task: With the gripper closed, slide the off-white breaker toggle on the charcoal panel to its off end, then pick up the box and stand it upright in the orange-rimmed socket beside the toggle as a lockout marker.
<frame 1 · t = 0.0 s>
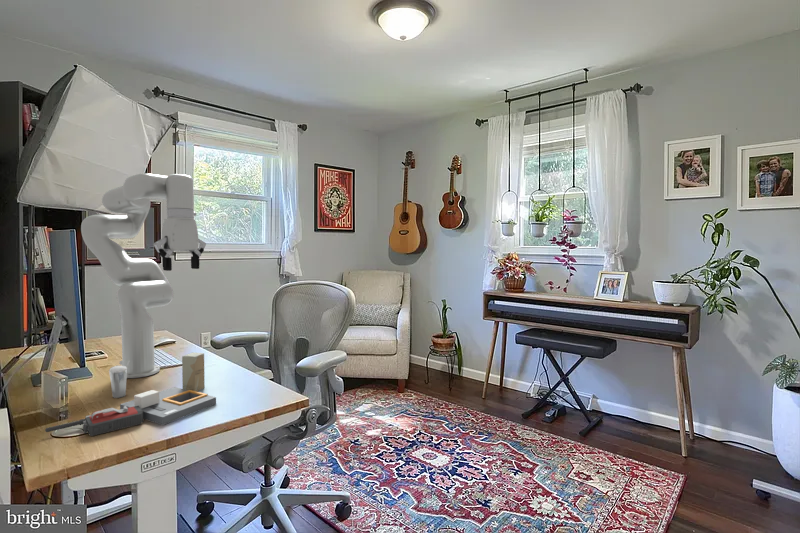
hand: (181, 269, 140), 37 cm above the table, tool pointing down, fingers open, 9 cm apart
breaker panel: (169, 407, 122), on the table
milkshake: (120, 396, 131), on the table
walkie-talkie: (98, 429, 109), on the table, touching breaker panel, breaker toggle
box: (193, 390, 137), on the table
breaker toggle: (146, 399, 118), point 4 cm above the table, slide at 0.0 cm, touching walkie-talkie
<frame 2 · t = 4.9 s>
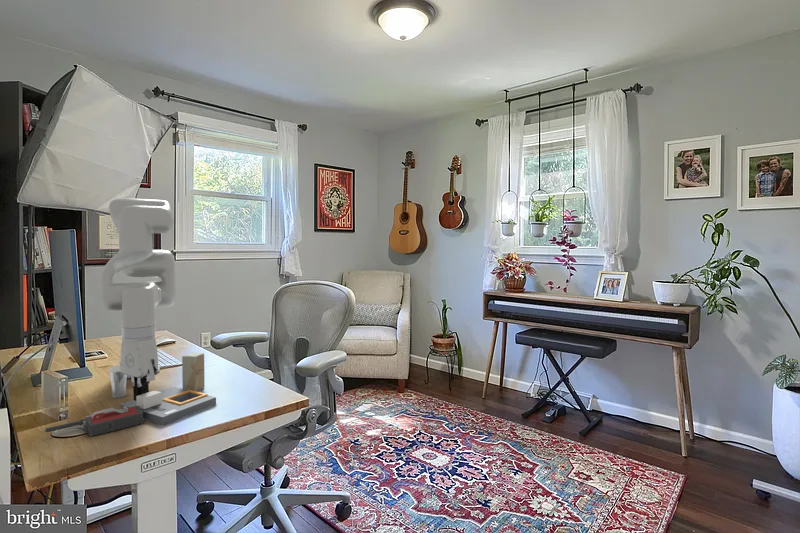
hand: (141, 399, 120), 3 cm above the table, tool pointing down, fingers closed
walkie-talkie: (98, 429, 108), on the table, touching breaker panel
breaker toggle: (149, 399, 118), point 4 cm above the table, slide at 1.0 cm, touching gripper
everything else where it was.
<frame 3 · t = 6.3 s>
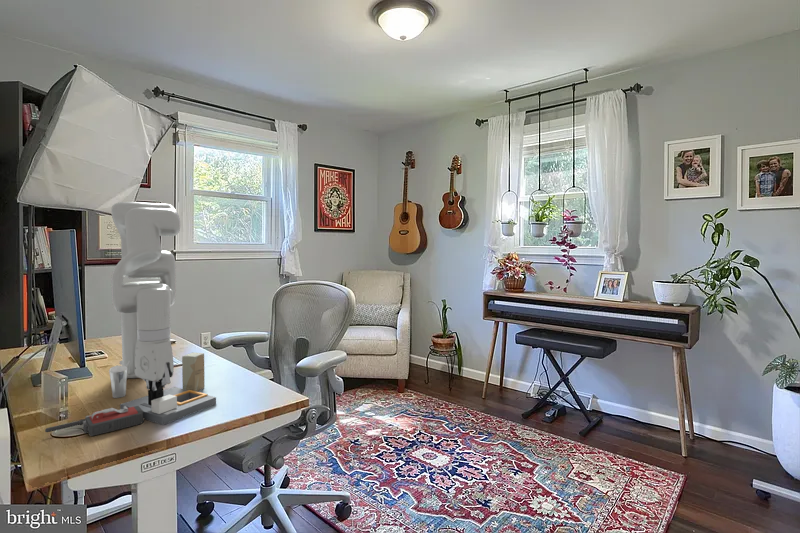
hand: (156, 403, 117), 3 cm above the table, tool pointing down, fingers closed
breaker toggle: (164, 404, 115), point 4 cm above the table, slide at 7.4 cm, touching gripper
everything else where it was.
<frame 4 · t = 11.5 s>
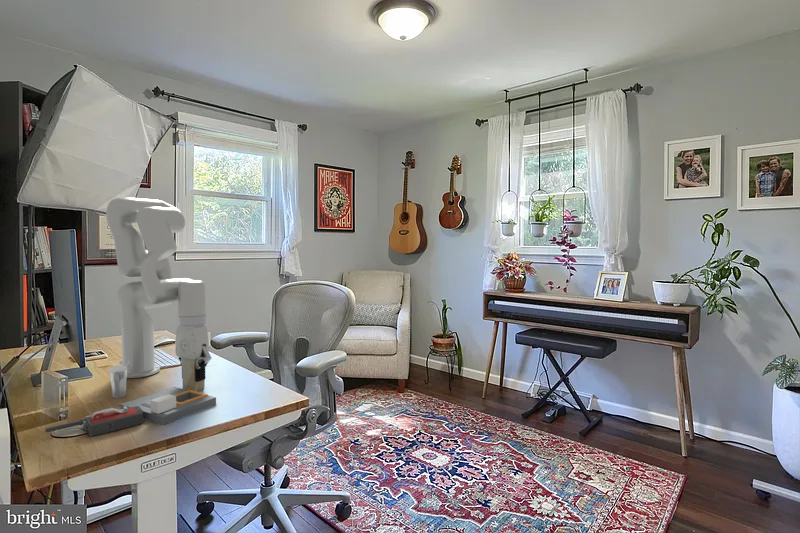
hand: (193, 378, 137), 3 cm above the table, tool pointing down, fingers closed on box, 5 cm apart
box: (193, 390, 137), on the table, touching gripper
breaker toggle: (163, 403, 115), point 4 cm above the table, slide at 7.1 cm
everything else where it was.
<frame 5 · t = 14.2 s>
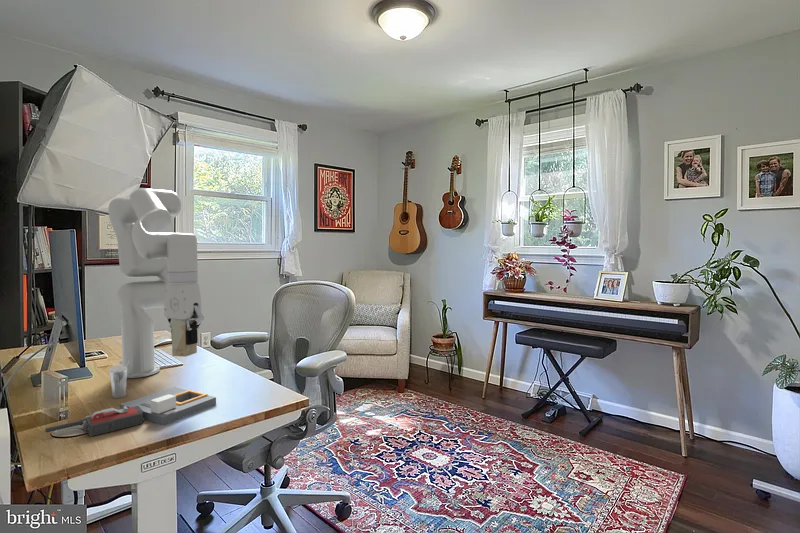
hand: (184, 342, 124), 18 cm above the table, tool pointing down, fingers closed on box, 5 cm apart
box: (184, 355, 124), point 14 cm above the table, touching gripper
everything else where it was.
when the fingers open (5 cm above the table, at t = 17.0 s): box drops 1 cm, resting in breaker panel.
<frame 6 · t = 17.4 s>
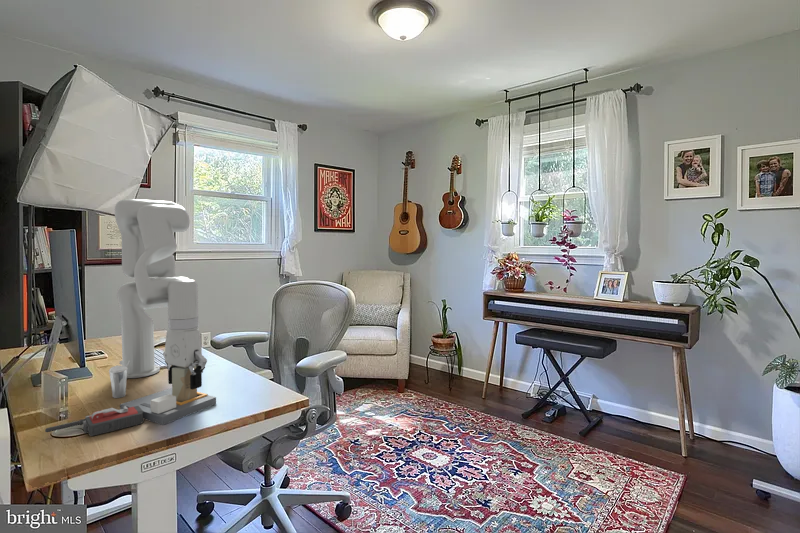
hand: (185, 385, 124), 6 cm above the table, tool pointing down, fingers open, 8 cm apart
box: (185, 405, 124), resting in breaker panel
everything else where it was.
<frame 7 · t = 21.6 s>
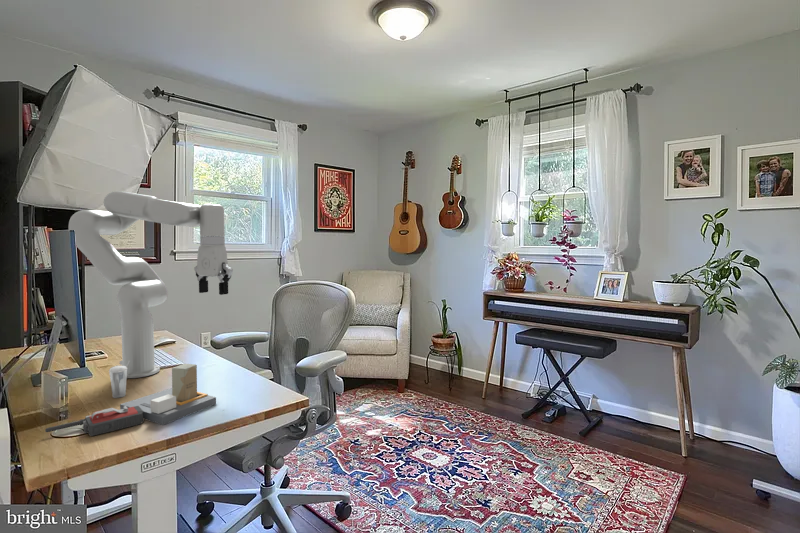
hand: (213, 293, 148), 28 cm above the table, tool pointing down, fingers open, 9 cm apart
nothing on the table moved.
at the end: breaker toggle slide at 7.1 cm; box 0.2 cm from the target spot on the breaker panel, point 0.0 cm above the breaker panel's base; box tilted 0° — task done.
